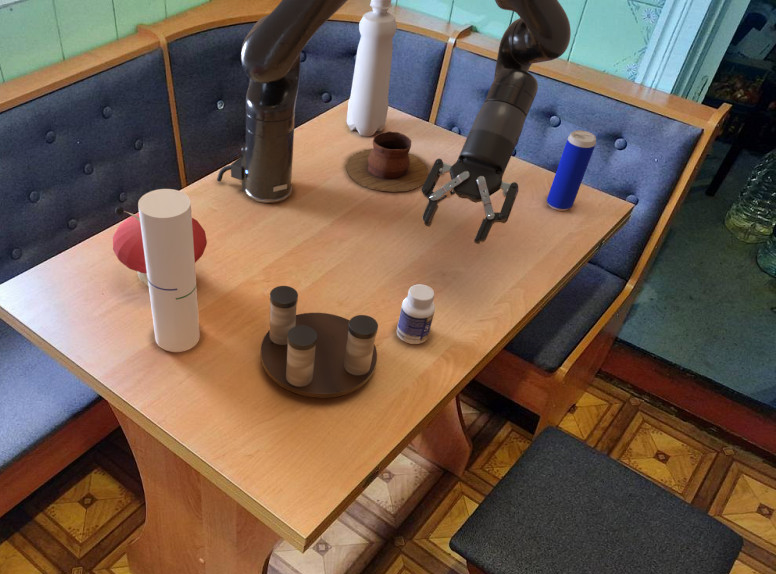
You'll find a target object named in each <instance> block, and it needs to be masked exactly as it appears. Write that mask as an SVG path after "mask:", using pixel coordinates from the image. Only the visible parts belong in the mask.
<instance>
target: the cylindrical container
mask: <svg viewBox="0 0 776 574" xmlns="http://www.w3.org/2000/svg"><path fill="white" fill-rule="evenodd" d="M137 207H138V213H139V216H140V224H141V231H142V239H143V247H144V254H145V262H146V270H147V278H148V286H149V287H148V286H147V287H148V291H149V299H150V307H151V317H152V322H153V331H154V332H153V333H154V340H155V343H156V345H157V346H158V347H159V348H161V349H162V350H164V351H167V352H170V353H180V352H181V353H182V352H186V351H189V350H191V349H192V348H194V347H195V346H196V345H197V344H198V343H199V341H200V338H201V335H200V319H199V318H200V317H199V304H198V303H199V302H198V290H197V275H196V262H195V259H194V244H193V229H192V218H193V216H192V202H191V199H190V197H189V196H188V195H187V194H186V193H185V192H183V191H180V190H177V189H173V188H159V189H154V190H150V191H149V192H146V193H145V194H143V195H142V196H141V197H140V198H139V199H138V203H137Z"/></svg>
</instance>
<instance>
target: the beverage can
mask: <svg viewBox="0 0 776 574" xmlns="http://www.w3.org/2000/svg"><path fill="white" fill-rule="evenodd" d="M596 144H597V136H596V135H595V134H594V133H592V132H590V131H587V130H582V129H576V130H574V131H571V133H570V134H569V135H568V137H567V139H566V142H565V145H564V148H563V151H562V153H561V157H560V160H559V162H558V165H557V168H556V171H555V174H554V176H553V179H552V183H551V186H550V189H549V191H548V195H547V197H546V202H547V204H548V206H549V207H550V208H551V209H553V210H555V211H559V212H564V211H568V210H570V209H571V208H572V207H573V206H574V203H575V201H576V198H577V195H578V193H579V190H580V187H581V186H582V185H581V184H582V182H583V179H584V176H585V174H586V171H587V168H588V166H589V163H590V160H591V158H592V155H593V152H594V150H595V147H596Z"/></svg>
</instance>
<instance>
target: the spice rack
mask: <svg viewBox="0 0 776 574" xmlns="http://www.w3.org/2000/svg"><path fill="white" fill-rule="evenodd" d="M269 302H270V306H269V309H270V310H269V330H268V331H267V332H266V334H265V335H264V336H263V339H262V341H261V346H260V360H261V364H262V366H263V369H264V371H265V373H266V374H267V376H269V378H271V380H272V381H273V382H274V383H276V384H278V385H279V386H280V387H281V388H283V389H285V390H287V391H289V392H292V393H295V394H296V395H299V396H303V397H310V398H317V399H319V398H321V399H326V398H335V397H341V396H345V395H347V394H350V393H352V392H354V391H357V390H359V389H360V388H362V386H364V385H365V384H367V382H368V381H369V380H370V379H371V377H372V376H373V374H374V373H375V369H376V367H377V361H378V352H377V347H376V344H375V342H376V338H377V337H376V336H377V334H378V331H379V323H378V321H377V320H376V319H375V318H374V317H372V316H369V315H366V314H358V315H355V316H352V317H351V318H350V319H349V318H345V317H343V316H340V315H336V314H333V313H326V312H304V313H298V314H297V308H298V302H299V293H298V291H297V290H296V289H295V288H294V287H292V286H288V285H279V286H275V287H274V288H272V289H271V290H270V293H269Z"/></svg>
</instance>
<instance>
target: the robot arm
mask: <svg viewBox="0 0 776 574" xmlns="http://www.w3.org/2000/svg"><path fill="white" fill-rule="evenodd" d="M348 1H349V0H281V1H280V2H279V3H278V4H277V6H276V7H275V8H274V9H273V10H272V11H271V12H270V13H269V14H267V15H265V16H262V17H261V18H260V19H258V20H257V21H256V22H255V24H254V25H253V27H252V28H250V29H251V30H250V31H249V32H248V33H247V35H246V36H245V38H244V40H243V42H242V44H241V49H240V62H241V66H242V69H243V71H244V73H245V75H246V76H247V77H248V78H249V82H248V88H247V91H246V94H245V145H243V146H242V147H241V156H240V157H238V159H235V161H234V162H232V163H231V164H228V165H226V166H224V167H222V168H221V169H220V170H219V172H218V173H217V178H216V181H217V182H220V183H221V182H222V180H223V176H224V174H225V173H226V172H228V171H230V177H231V178H234V179H237V180H239V181H241V192H244V193H245V194H246V195H247V197H248V198H250V199H251V200H253V201H255V202H257V203H258V202H259V203H264V204H275V203H280V202H283V201H285V200H287V199H288V198H289V197H291V195H292V191H293V187H292V184H293V183H292V177H293V164H294V163H293V160H294V141H295V139H294V137H295V136H294V135H295V120H296V119H295V117H296V102H297V99H298V98H297V97H298V93H299V86H300V75H301V74H300V73H301V61H302V60H301V59H302V51H303V50H304V48H305V47H306V46H307V44H308V43H309V41H310V40H311V39H312V37H313V36H314V35H315V34H316V32H317V31H318V30H319V29H320V28H321V27H322V26H323V25H324V24H325V23H326V22H327V21H328V20H329V19H330V18H332V16H334V15H335V14H336V13H337V12H338V11H339V10H340V9H341V8H342V7H343V6H344V5H345V4H346V3H347V2H348ZM494 1H495V3H496V5H497V7H498V8H499V9H501V10H505V11H509V12H510V11H511V12H513V13H515V14H517V15H518V16H519V18H517V19H515V20H513V22H511V23H510V24H509V25H508V27H507V28H506V30H505V31H504V33H503V34H502V36H501V39H500V42H499V46H498V52H497V57H496V62H495V69H494V75H493V81H492V83H491V85H490V88H489V89H488V92H487V94H486V96H485V99H484V101H483V103H482V106H481V108H479V111H477V112H478V113H477V114H476V116H475V118H474V121H473V122H472V125H471V128H470V129H469V132H468V134H467V137H466V139H465V142H464V143H463V146H462V148H461V151H460V152H459V155H458V157H457V160H456V162H455V163H453V164H452V165H451V164H449V163H446V162H444V161H443V159H442V158H436V159H435V161H434V163H433V165H432V167H431V169H430V171H429V172H428V173H429V175H428V177H427V179H426V181H425V183H424V184H423V185H422V187H421V189H420V191H421V193H422V195H423V197H424V198H426V199H428V203H427V205H426V206H425V209H424V212H423V213H422V222H423V224H424V226H425V227H428V228H430V227H431V225H432V223H433V220H434V218H435V215H436V213H437V211H438V209H439V204H440V203H442V202H444V201H445V200H447V199H450V198H451V197H453V196H455V195H456V196H457V197H458V198H459V199H460V198H461V199H466V200H469V201H471V202H473V203H476V204H477V203H482V205H483V210H484V213H485V218H483V219H482V220H481V223H480V225H479V228H478V230H477V231H476V232H477V233H476V235H475V237H474V240H473V242H474V244H476V245H480V244H481V242H482V243H485V241H487V238H488V236H489V233H490V231H491V229H492V227H493V225H494V224H496V223H500V224H506V223H507V222H508V221H509V218H510V215H511V212H512V211H513V207H514V204H515V201H516V200H517V196H518V194H519V184H518V183H517V182H515V181H513V182H506V181H503V176H504V174H505V171H506V169H507V167H508V166H509V165H508V164H509V163H510V160H511V158H512V156H513V153H514V150H515V149H516V147H517V146H518V143H519V141H520V137H521V134H522V132H523V129H524V125H525V121H526V120H527V117H528V114H529V112H530V110H531V108H532V106H533V104H534V100H535V98H536V95H537V94H538V89H539V83H538V80H537V79H536V78H535V76H534V75H533V74H531V73H529V70H530V68H531V66H532V64H538V63H545V62H549V61H554V60H556V59H559V58H560V57H561V56H562V55H564V54H565V52H566V51H567V50H568V48H569V45H570V42H571V41H570V40H571V36H572V35H571V34H572V31H571V23H570V20H569V17H568V15H567V13H566V10H565V9H564V7H563V6H562V4H561V3H560V1H559V0H494ZM448 173H449V175H450V176H449V177H450V179H451V180H450V181H448V182H446V183H444V185H441V187H440V188H439V189H437V190H435V191H434V189H435V187H436V185H437V183H438V181H439V179H440V178H442V177H444V176H446V174H448ZM500 190H502V196H503V197H504V201H503V203H502V206H501V209H500V212H498V211H497V212H495V211H494V208H493V205H492V199H491V196H492V195H493V194H496V193H497V192H498V191H500Z"/></svg>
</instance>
